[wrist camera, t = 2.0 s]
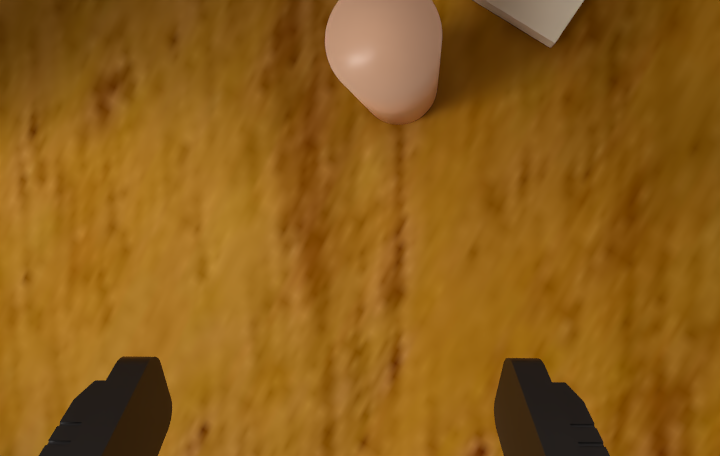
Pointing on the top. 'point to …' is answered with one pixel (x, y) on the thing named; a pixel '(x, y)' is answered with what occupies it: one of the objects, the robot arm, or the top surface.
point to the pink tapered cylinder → (387, 55)
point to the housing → (535, 16)
